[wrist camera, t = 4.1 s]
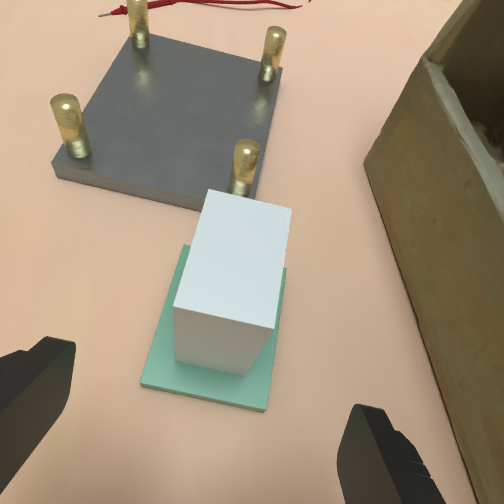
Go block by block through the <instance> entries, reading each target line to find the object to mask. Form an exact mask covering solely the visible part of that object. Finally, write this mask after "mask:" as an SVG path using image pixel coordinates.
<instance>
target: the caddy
mask: <svg viewBox="0 0 504 504" xmlns="http://www.w3.org/2000/svg"><path fill="white" fill-rule="evenodd" d="M364 165H365V169H366V172H367V175H368V178H369V181H370V184H371V187H372V190H373V193H374V196H375V198H376V201H377V204H378V206H379V209H380V212H381V215H382V218H383V220H384V223H385V226H386V229H387V232H388V235H389V238H390V242H391V245H392V248H393V251H394V254H395V257H396V260H397V262H398V265H399V268H400V271H401V273H402V276H403V279H404V282H405V284H406V287H407V290H408V293H409V296H410V298H411V301H412V304H413V307H414V310H415V313H416V315H417V318H418V320H419V327H420V330H421V333H422V336H423V340H424V343H425V345H426V348H427V351H428V353H429V356H430V359H431V362H432V365H433V368H434V371H435V374H436V377H437V380H438V383H439V386H440V389H441V392H442V395H443V398H444V401H445V404H446V407H447V410H448V413H449V416H450V420H451V423H452V426H453V429H454V433H455V436H456V439H457V443H458V445H459V448H460V450H461V453H462V455H463V458H464V460H465V463H466V465H467V469H468V472H469V475H470V478H471V481H472V484H473V487H474V490H475V493H476V496H477V499H478V502H479V504H504V0H463V1H462V2H461V4H460V5H459V6H458V8H457V9H456V10H455V12H454V13H453V14H452V16H451V17H450V18H449V20H448V21H447V22H446V24H445V25H444V26H443V28H442V29H441V31H440V32H439V34H438V35H437V37H436V38H435V40H434V41H433V43H432V44H431V46H430V47H429V48H428V49H427V50H426V52H425V53H424V54H423V55H422V56H421V58H420V60H419V63H418V64H417V66H416V67H415V69H414V70H413V72H412V73H411V75H410V77H409V79H408V81H407V83H406V85H405V87H404V89H403V91H402V93H401V95H400V97H399V99H398V101H397V102H396V104H395V106H394V108H393V109H392V111H391V113H390V115H389V117H388V118H387V120H386V122H385V124H384V126H383V127H382V130H381V132H380V135H379V136H378V137H377V139H376V140H375V142H374V144H373V146H372V148H371V150H370V151H369V153H368V155H367V156H366V158H365V161H364Z"/></svg>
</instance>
